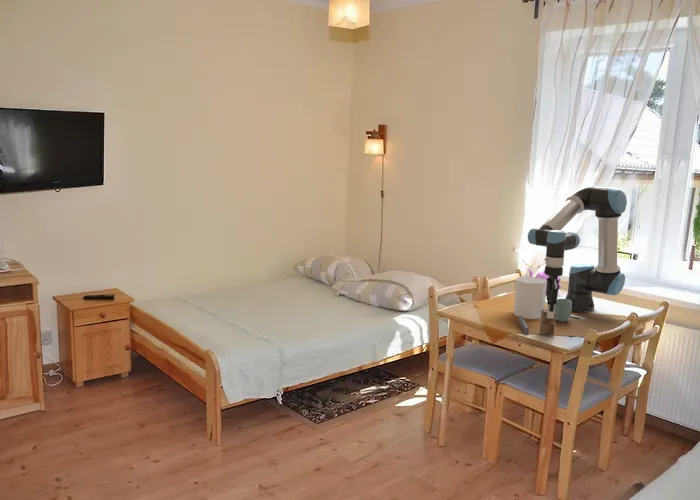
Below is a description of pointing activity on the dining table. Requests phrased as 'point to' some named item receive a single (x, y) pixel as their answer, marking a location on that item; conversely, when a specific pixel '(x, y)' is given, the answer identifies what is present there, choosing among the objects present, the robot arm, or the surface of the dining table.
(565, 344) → the dining table surface
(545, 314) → the brown and green block
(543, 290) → the container
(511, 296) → the dining table surface
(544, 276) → the teapot
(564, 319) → the cup
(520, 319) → the rail
